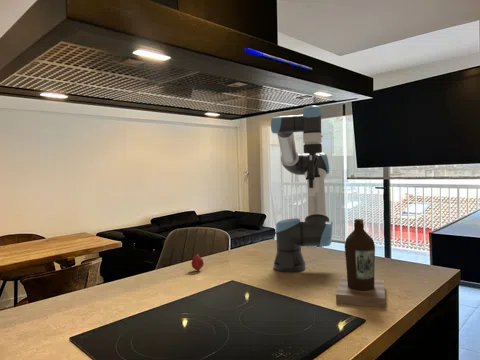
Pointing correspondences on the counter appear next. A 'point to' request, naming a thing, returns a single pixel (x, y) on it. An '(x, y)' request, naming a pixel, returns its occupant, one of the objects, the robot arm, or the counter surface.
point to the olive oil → (360, 258)
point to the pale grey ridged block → (361, 294)
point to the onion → (197, 262)
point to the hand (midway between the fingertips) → (313, 194)
